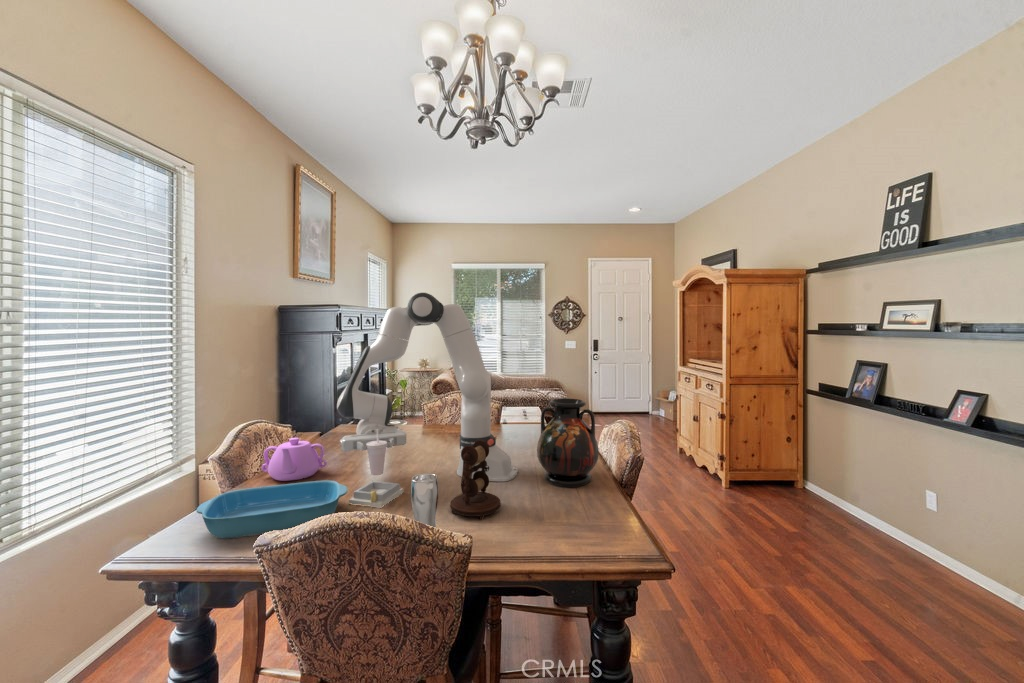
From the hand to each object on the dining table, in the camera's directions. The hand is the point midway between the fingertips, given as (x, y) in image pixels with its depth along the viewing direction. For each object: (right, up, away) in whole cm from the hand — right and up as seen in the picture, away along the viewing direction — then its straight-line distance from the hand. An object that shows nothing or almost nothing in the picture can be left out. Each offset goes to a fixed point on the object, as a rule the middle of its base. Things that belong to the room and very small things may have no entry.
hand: (377, 446), depth 136 cm
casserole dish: (-24, -18, -14) cm, 33 cm away
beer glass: (+20, -17, -23) cm, 35 cm away
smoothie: (0, -9, +1) cm, 9 cm away
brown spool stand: (+31, -17, -8) cm, 37 cm away
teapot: (-37, -17, +21) cm, 45 cm away
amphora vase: (+62, -16, +18) cm, 66 cm away
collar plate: (0, -17, +1) cm, 17 cm away
